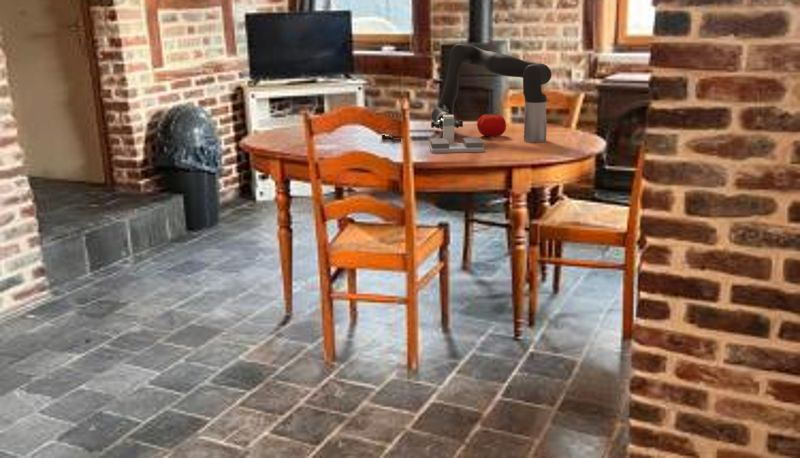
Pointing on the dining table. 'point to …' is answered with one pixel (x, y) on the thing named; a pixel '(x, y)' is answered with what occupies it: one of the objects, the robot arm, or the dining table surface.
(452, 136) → the grey module
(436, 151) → the rack board
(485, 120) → the tomato
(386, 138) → the ammunition clip
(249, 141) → the dining table surface
